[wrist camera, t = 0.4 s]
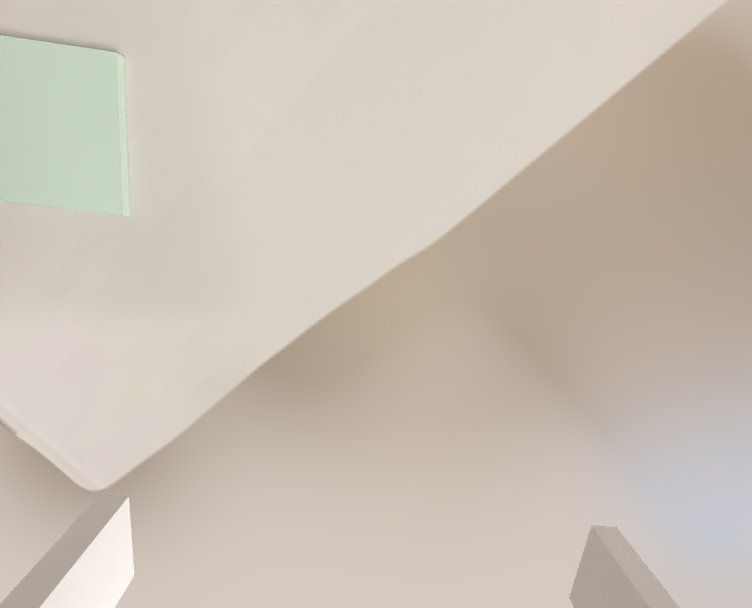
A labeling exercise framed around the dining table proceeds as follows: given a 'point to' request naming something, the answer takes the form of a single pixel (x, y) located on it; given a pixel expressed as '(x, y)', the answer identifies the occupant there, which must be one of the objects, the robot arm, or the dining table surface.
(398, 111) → the dining table surface
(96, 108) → the pad
